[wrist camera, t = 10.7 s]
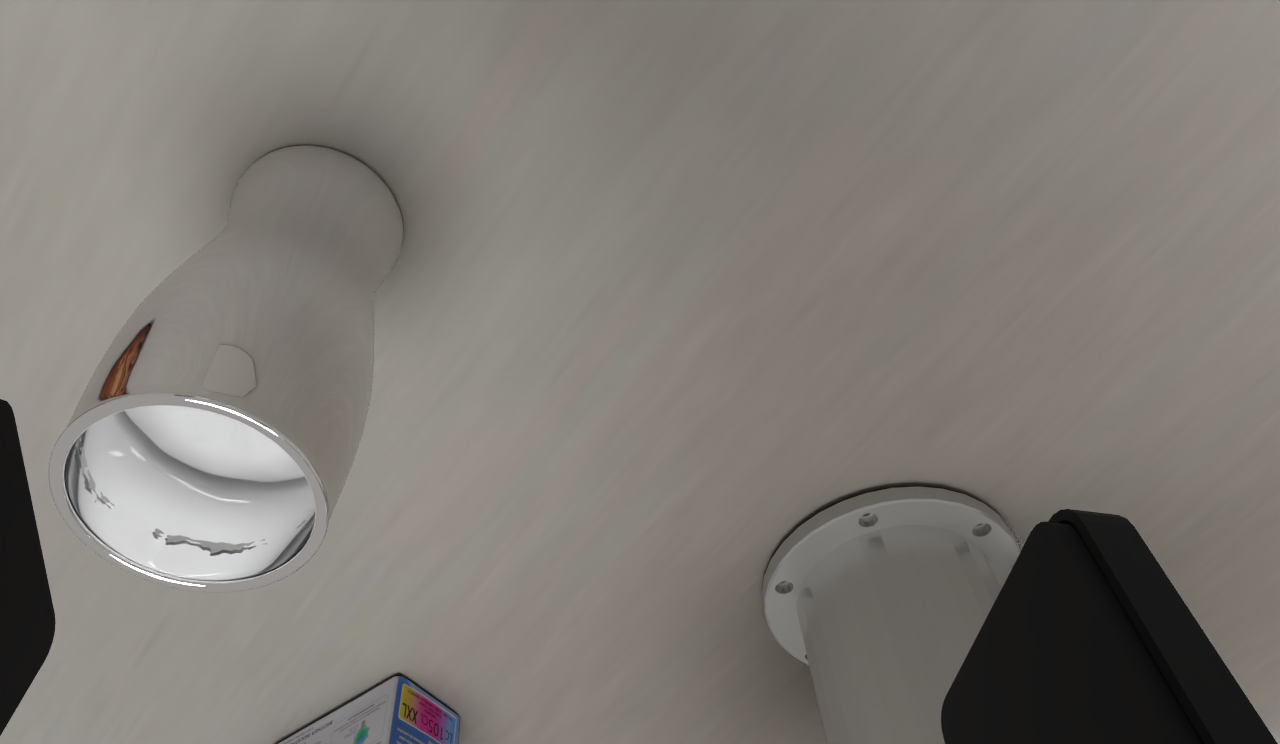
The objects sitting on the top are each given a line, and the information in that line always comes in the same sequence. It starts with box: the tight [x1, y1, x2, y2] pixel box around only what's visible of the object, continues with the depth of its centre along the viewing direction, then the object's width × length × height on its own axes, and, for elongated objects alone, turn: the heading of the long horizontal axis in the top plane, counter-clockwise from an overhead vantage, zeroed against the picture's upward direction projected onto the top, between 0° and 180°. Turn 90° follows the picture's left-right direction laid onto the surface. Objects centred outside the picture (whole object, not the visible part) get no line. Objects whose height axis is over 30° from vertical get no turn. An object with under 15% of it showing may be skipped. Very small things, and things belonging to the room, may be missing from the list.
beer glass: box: [49, 145, 403, 592], centre depth 30 cm, size 7×7×15 cm
